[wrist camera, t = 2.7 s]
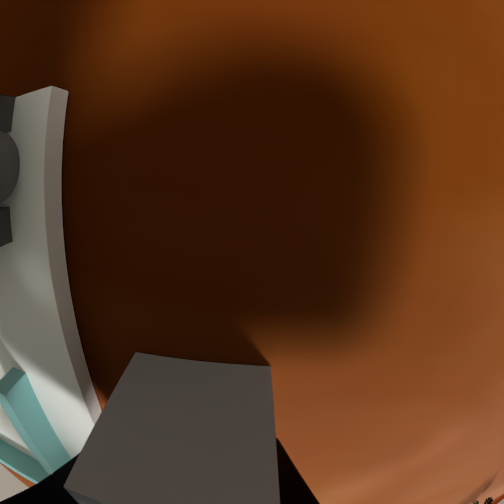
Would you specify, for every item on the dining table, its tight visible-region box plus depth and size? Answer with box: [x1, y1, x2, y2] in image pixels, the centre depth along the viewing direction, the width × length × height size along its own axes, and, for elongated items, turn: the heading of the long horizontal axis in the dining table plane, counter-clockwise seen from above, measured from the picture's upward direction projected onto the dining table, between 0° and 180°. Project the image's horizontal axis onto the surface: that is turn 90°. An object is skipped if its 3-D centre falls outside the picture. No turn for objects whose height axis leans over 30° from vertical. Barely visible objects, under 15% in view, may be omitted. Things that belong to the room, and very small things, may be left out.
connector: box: [64, 352, 280, 504], centre depth 6 cm, size 5×4×5 cm
